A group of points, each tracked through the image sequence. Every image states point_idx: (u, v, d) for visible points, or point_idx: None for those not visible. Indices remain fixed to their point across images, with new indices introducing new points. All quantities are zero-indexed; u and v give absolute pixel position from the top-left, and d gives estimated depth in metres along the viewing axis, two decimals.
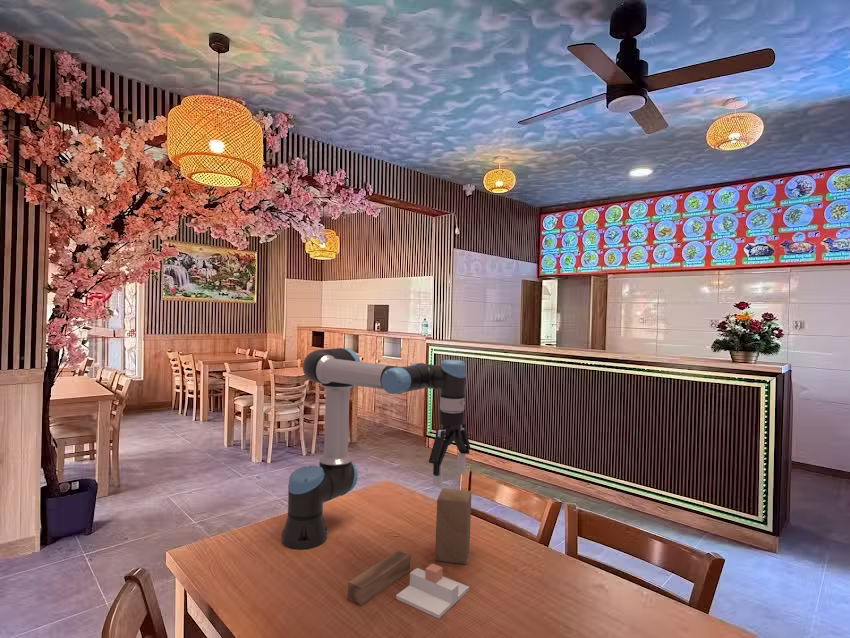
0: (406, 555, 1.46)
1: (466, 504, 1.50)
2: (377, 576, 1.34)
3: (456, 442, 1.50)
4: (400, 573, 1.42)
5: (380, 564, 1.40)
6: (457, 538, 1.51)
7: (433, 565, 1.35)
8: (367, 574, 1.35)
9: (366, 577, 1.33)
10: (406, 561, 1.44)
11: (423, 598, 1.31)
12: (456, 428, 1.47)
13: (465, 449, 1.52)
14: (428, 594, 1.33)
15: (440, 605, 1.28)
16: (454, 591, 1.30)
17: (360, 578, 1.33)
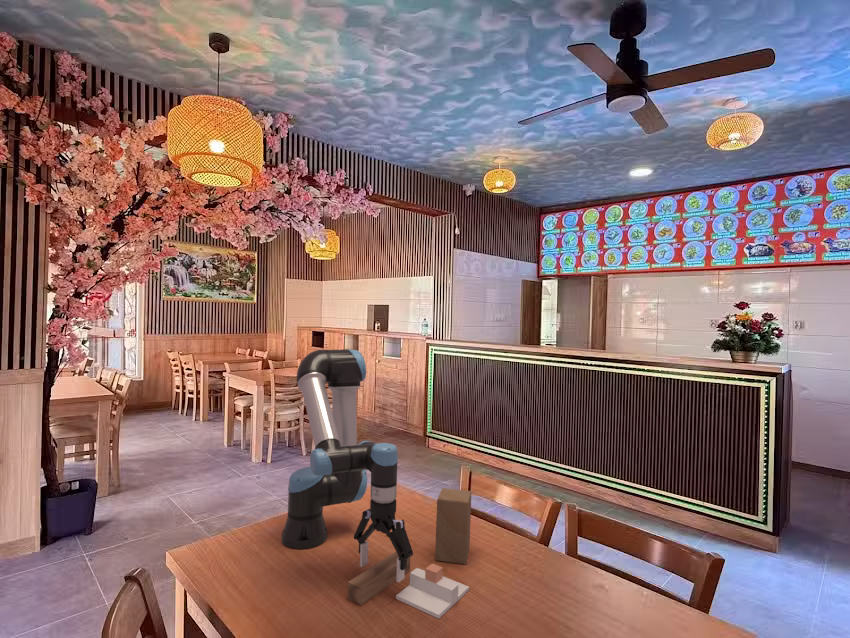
0: None
1: (466, 504, 1.50)
2: (377, 576, 1.34)
3: None
4: None
5: (380, 564, 1.40)
6: (457, 538, 1.51)
7: (433, 565, 1.35)
8: (367, 574, 1.35)
9: (366, 577, 1.33)
10: None
11: (423, 598, 1.31)
12: (383, 519, 1.37)
13: (399, 553, 1.33)
14: (428, 594, 1.33)
15: (440, 605, 1.28)
16: (454, 591, 1.30)
17: (359, 578, 1.33)
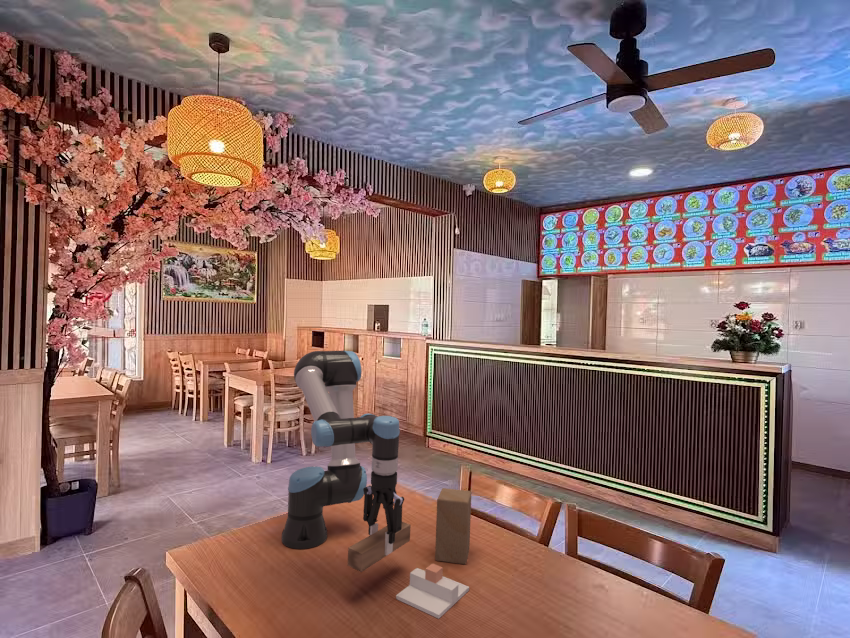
0: (406, 524, 1.46)
1: (466, 504, 1.50)
2: (378, 543, 1.34)
3: None
4: (400, 541, 1.42)
5: (380, 532, 1.41)
6: (457, 538, 1.51)
7: (433, 565, 1.35)
8: (368, 541, 1.35)
9: (366, 544, 1.33)
10: (406, 530, 1.45)
11: (423, 598, 1.31)
12: (385, 489, 1.37)
13: (388, 527, 1.36)
14: (428, 594, 1.33)
15: (440, 605, 1.28)
16: (454, 591, 1.30)
17: (360, 544, 1.33)
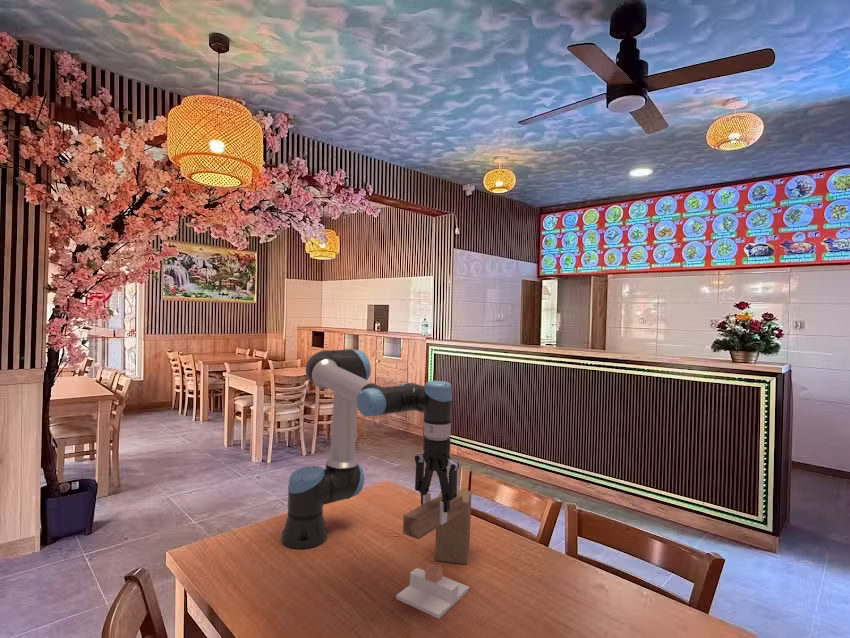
0: (458, 495, 1.41)
1: (466, 504, 1.50)
2: (433, 511, 1.29)
3: None
4: (453, 512, 1.37)
5: (433, 501, 1.35)
6: (457, 538, 1.51)
7: (433, 565, 1.35)
8: (422, 509, 1.30)
9: (421, 511, 1.28)
10: (458, 500, 1.39)
11: (423, 598, 1.31)
12: (438, 455, 1.32)
13: (443, 495, 1.31)
14: (428, 594, 1.33)
15: (440, 605, 1.28)
16: (454, 591, 1.30)
17: (415, 512, 1.28)
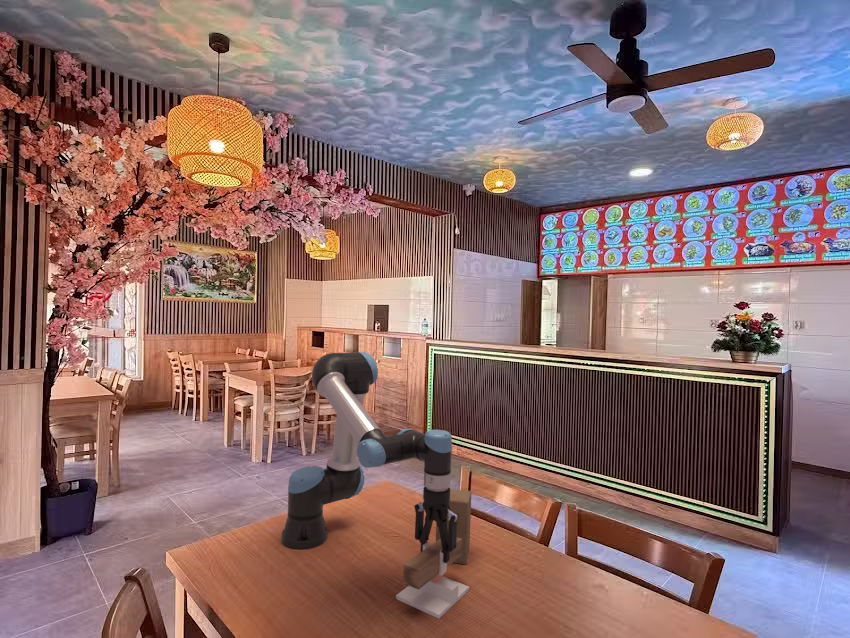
0: (457, 538, 1.41)
1: (466, 504, 1.50)
2: (433, 558, 1.29)
3: None
4: (453, 556, 1.37)
5: (432, 547, 1.36)
6: None
7: None
8: (422, 557, 1.30)
9: (421, 560, 1.29)
10: (458, 544, 1.40)
11: (423, 598, 1.31)
12: (438, 506, 1.32)
13: (443, 545, 1.31)
14: (428, 594, 1.33)
15: (440, 605, 1.28)
16: (454, 591, 1.30)
17: (415, 560, 1.28)
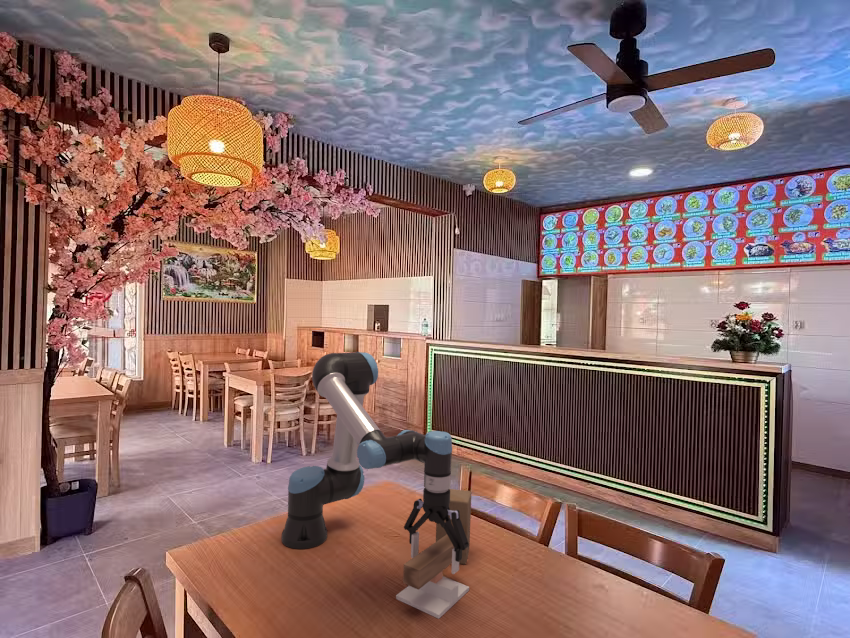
0: None
1: (466, 504, 1.50)
2: (433, 558, 1.29)
3: None
4: None
5: (432, 547, 1.36)
6: None
7: None
8: (422, 557, 1.30)
9: (421, 560, 1.29)
10: None
11: (423, 598, 1.31)
12: (437, 510, 1.32)
13: (454, 544, 1.29)
14: (428, 594, 1.33)
15: (440, 605, 1.28)
16: (454, 591, 1.30)
17: (415, 561, 1.28)
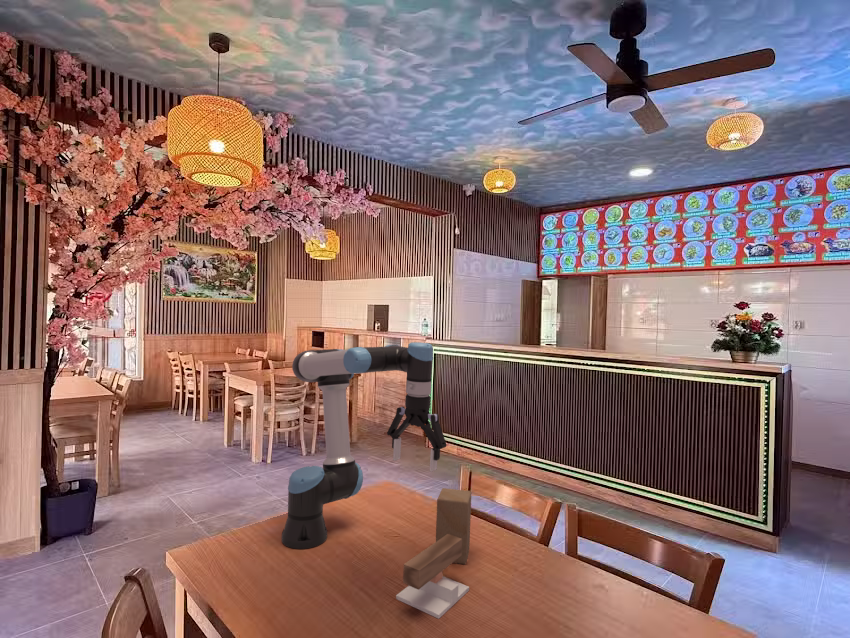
0: (457, 538, 1.41)
1: (466, 504, 1.50)
2: (433, 558, 1.29)
3: None
4: (453, 556, 1.37)
5: (432, 547, 1.36)
6: None
7: None
8: (422, 557, 1.30)
9: (421, 560, 1.29)
10: (458, 544, 1.40)
11: (423, 598, 1.31)
12: (418, 414, 1.41)
13: (433, 444, 1.38)
14: (428, 594, 1.33)
15: (440, 605, 1.28)
16: (454, 591, 1.30)
17: (415, 561, 1.28)
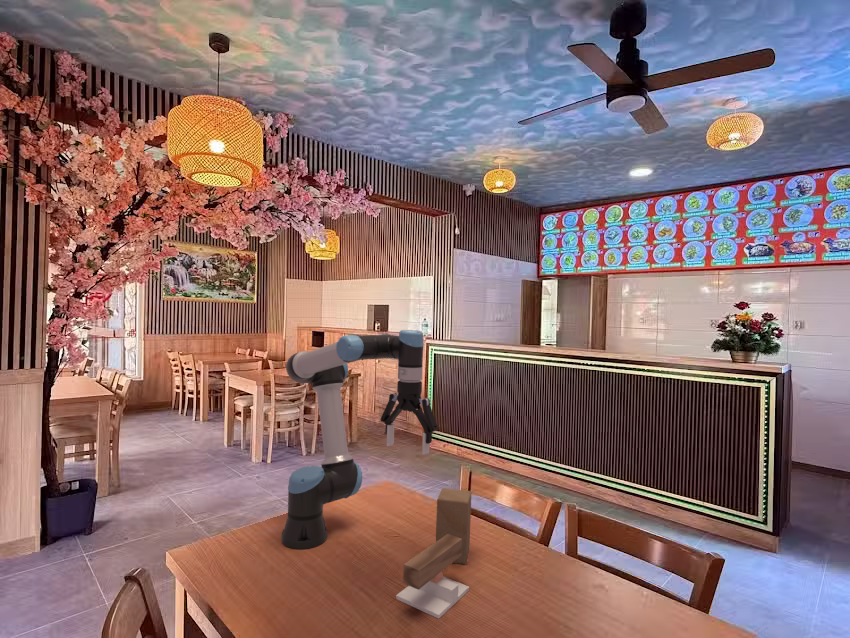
0: (457, 538, 1.41)
1: (466, 504, 1.50)
2: (433, 558, 1.29)
3: None
4: (453, 556, 1.37)
5: (432, 547, 1.36)
6: None
7: None
8: (422, 557, 1.30)
9: (421, 560, 1.29)
10: (458, 544, 1.40)
11: (423, 598, 1.31)
12: (410, 399, 1.45)
13: (425, 427, 1.42)
14: (428, 594, 1.33)
15: (440, 605, 1.28)
16: (454, 591, 1.30)
17: (415, 561, 1.28)
